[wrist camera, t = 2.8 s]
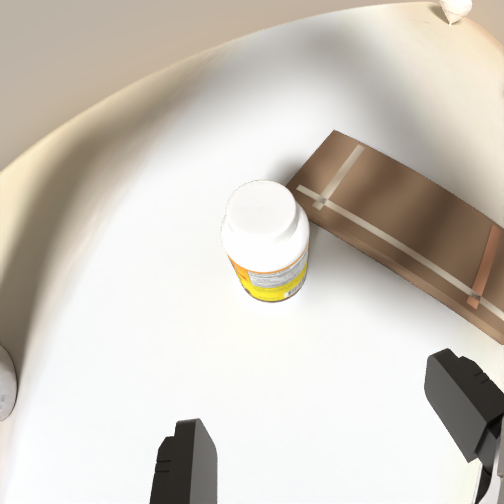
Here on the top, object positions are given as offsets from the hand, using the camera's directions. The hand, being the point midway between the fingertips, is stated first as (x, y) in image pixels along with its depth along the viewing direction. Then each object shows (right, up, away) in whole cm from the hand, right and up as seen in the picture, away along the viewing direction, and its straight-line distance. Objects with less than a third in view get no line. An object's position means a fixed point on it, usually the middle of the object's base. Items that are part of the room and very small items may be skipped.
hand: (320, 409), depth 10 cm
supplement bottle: (0, +3, +18) cm, 18 cm away
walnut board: (+13, +7, +17) cm, 23 cm away
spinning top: (+40, +53, +36) cm, 76 cm away
